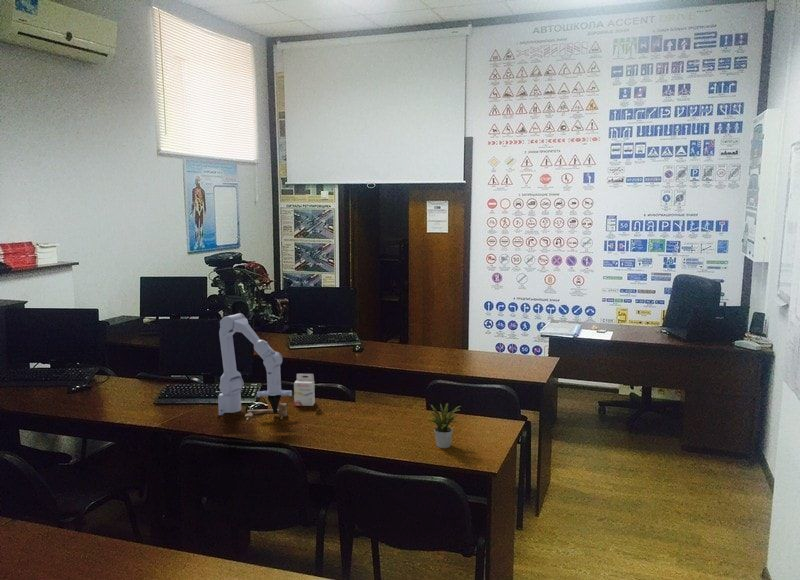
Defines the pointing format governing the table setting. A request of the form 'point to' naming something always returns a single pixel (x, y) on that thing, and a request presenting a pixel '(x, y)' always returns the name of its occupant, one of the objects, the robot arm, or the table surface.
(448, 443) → the house plant
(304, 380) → the ink cartridge box
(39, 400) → the table surface
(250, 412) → the beam and fixed leg
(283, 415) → the sliding leg
